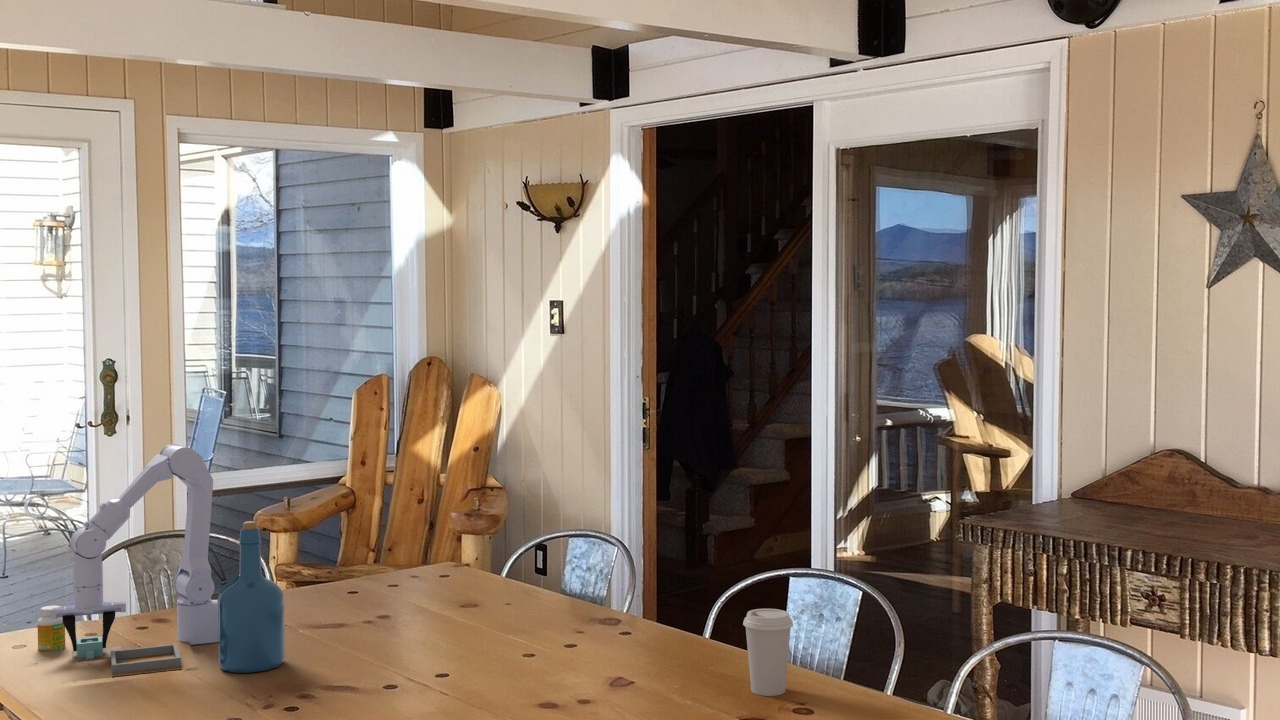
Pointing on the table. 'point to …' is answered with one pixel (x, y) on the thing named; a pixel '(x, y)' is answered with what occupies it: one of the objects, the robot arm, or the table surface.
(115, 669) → the tray
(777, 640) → the coffee cup
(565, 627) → the table surface
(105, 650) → the board
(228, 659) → the wine bottle
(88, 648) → the teal ring
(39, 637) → the supplement bottle
